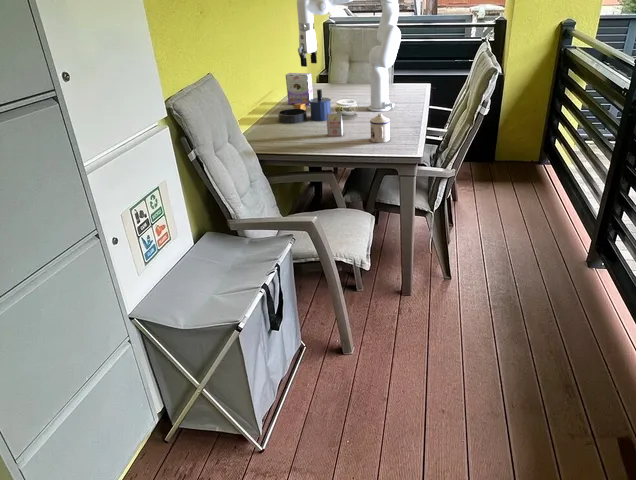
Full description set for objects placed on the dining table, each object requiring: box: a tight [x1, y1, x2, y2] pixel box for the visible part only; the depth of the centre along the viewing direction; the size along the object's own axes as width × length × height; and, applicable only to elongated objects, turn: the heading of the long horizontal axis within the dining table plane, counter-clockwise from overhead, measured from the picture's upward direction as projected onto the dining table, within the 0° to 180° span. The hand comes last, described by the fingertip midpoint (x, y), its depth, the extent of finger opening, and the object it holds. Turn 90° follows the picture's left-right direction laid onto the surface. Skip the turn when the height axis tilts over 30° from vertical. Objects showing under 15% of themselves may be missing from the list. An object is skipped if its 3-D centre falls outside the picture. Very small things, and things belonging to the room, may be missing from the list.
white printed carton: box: [326, 113, 344, 137], centre depth 251 cm, size 4×7×10 cm, turn 84°
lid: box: [309, 88, 332, 103], centre depth 275 cm, size 11×11×6 cm
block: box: [293, 103, 307, 111], centre depth 292 cm, size 4×4×4 cm
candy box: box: [285, 72, 314, 106], centre depth 306 cm, size 14×6×16 cm, turn 71°
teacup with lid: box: [369, 113, 391, 144], centre depth 241 cm, size 12×9×12 cm
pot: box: [309, 101, 332, 122], centre depth 279 cm, size 10×10×9 cm
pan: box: [277, 108, 308, 124], centre depth 279 cm, size 15×15×4 cm
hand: (309, 64), depth 270 cm, fingers open, 9 cm apart
